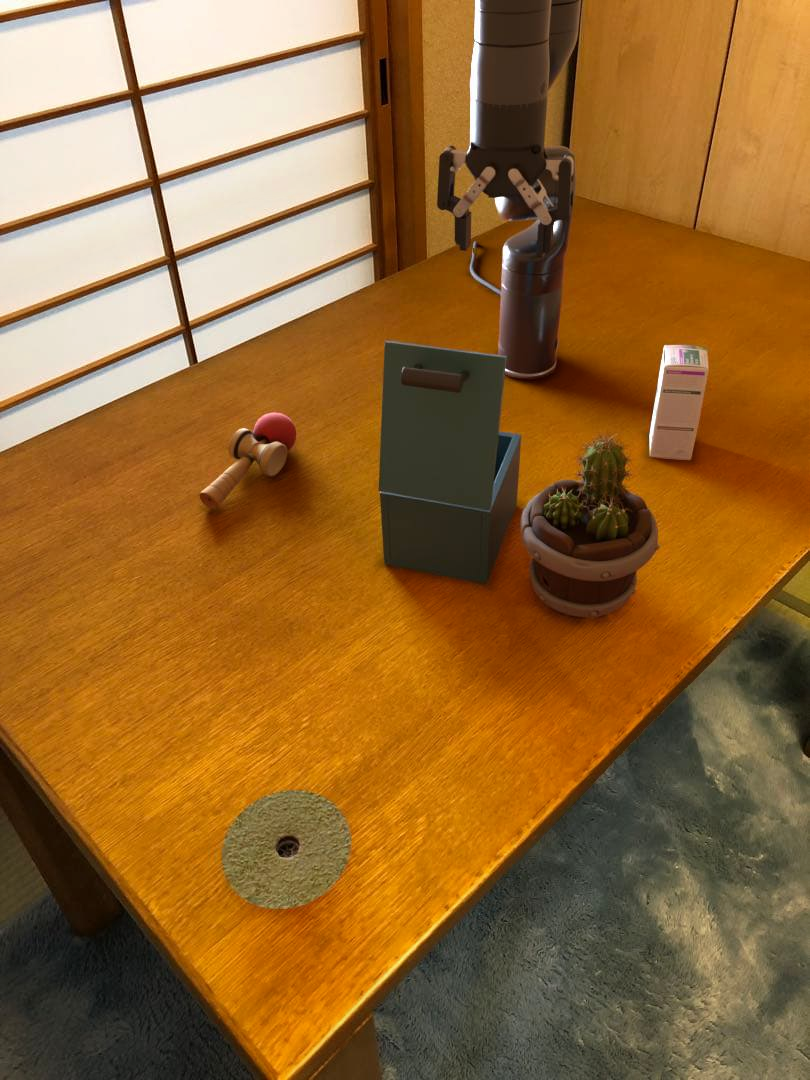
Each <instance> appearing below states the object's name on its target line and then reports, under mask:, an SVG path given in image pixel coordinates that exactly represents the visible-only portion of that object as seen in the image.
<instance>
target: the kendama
mask: <svg viewBox="0 0 810 1080" xmlns="http://www.w3.org/2000/svg"><path fill="white" fill-rule="evenodd" d="M296 440H297V428H296V425H295V423H294V422H293V420H292V419H290V417H288V416H287V415H285V414H283V413H280V412H268V413H265V414H264V415H262V416H260V417H259V418H258V420H257V421H256V422H255V424H254V427H253V431H252V430H250V429H248V428H244V427H242V428H239V429H237V430H236V431H235V432H234V433H233V435H232V436H231V438H230V440H229V443H228V446H227V447H228V449H227V450H228V451H227V452H228V454H229V456H230V457H232V458H233V459H235V460H237V461H236V462H234V463H233V464H232V465H230V466H229V467H228V468H227V469H226V470H224V472H222V474H220V475H219V476H218V477H217V478H216V479H214V480H213V482H211V483H210V484H209V485H208V486H207V487H206V488H204V489H203V490H202V491H201V492H200V493H199V499H200V501H201V502H202V504H203V505H204V506H205V507H207V508H208V509H211V510H213V511H215V510H216V511H217V510H218V509H219V507H220V506H221V505H222V504H223V502H224V501H225V500H226V499H227V498H228V496H229V495H230V494H231V492H232V491H233V490H234V488H235V487H236V486H237V485H238V484H239V483H240V481H241V480H242V479H243V478H244V476H245V475H246V473H247V472H248V471H249V469H250V468H251V466H252V465H253V463H254V462H256V463H257V464H258V467H259V469H260V472H261V473H262V474H263V475H266V476H268V477H274V476H276V475H278V473H279V472H281V470H282V469H283V467H284V465H285V463H286V460H287V457H288V452H289V451H290V450H291V449H292V448H293V447H294V446H295V444H296Z"/></svg>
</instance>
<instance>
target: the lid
mask: <svg viewBox="0 0 810 1080" xmlns="http://www.w3.org/2000/svg"><path fill="white" fill-rule="evenodd" d="M383 347H384V348H383V371H382V372H383V373H382V398H381V419H380V421H381V423H380V424H381V425H380V443H379V444H380V446H379V468H378V471H379V472H378V473H379V474H378V492H381V491H382V492H387V493H393V494H399V495H404V496H410V497H416V498H421V499H427V500H433V501H438V502H444V503H449V504H455V505H461V506H466V507H472V508H478V509H483V510H490V509H491V503H492V493H493V484H494V474H495V465H496V455H497V446H498V436H499V431H500V426H501V425H500V424H501V414H502V406H503V398H504V387H505V377H506V375H505V369H506V359H507V356H502V355H498V354H493V353H487V352H479V351H471V350H463V349H457V348H456V349H454V348H447V347H439V346H434V345H433V346H432V345H425V344H417V343H416V344H415V343H410V342H401V341H394V340H386V341H384V346H383Z"/></svg>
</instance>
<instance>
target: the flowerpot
mask: <svg viewBox="0 0 810 1080" xmlns="http://www.w3.org/2000/svg"><path fill="white" fill-rule="evenodd" d="M596 433H597V434H598V436H599V437H596V436H594V437H593V438H592V443H591V442H587V441H586V442H585V444H586V445H585V444H584V443H580V444H581V445H583V448H581V449H580V451H579V452H577V453H578V454H580V452H581V451H582V450H583V451H584V452H585V454H584V453H583V452H581V454H582V455H576V456H577V457H574V456H573V458H574V459H576V460H578V461H577V463H576V469H579V470H576V472H577V473H575V474H573V476H576V478H575V480H574V479H561V480H558V481H554V482H553V483H552V484H550V485H547V486H546V487H545V488H544V489H542V490H541V492H539V493H537V494H535V496H533V497H532V498H531V499H530V500H529V501H528V503H527V504H526V506H525V507H524V509H522V510H521V512H520V513H521V518H520V538H521V542H522V545H523V546H524V548H525V550H526V552H527V553H528V555H529V556H530V557H531V559H530V561H529V576H530V577H529V578H530V582H531V585H532V588H533V590H534V593H535V594H536V596H537V597H538V598H539V600H540V601H542V603H543V604H544V605H545V606H546V607H548V608H549V609H550V610H551V611H553V612H555V613H556V614H558V615H560V616H563V617H565V616H568V617H569V618H571V619H574V620H584V619H587V618H600V619H601V618H604V617H607V616H608V615H609V614H611V613H614V612H616V611H617V610H619V609H621V608H622V607H623V606H624V605H625V604H626V603H627V602H628V601H629V600H630V598H631V596H632V595H634V594H636V586H637V584H638V583H637V582H638V575H637V572H638V570H640V569H641V568H643V567H644V566H645V565H646V564H648V562H650V561H651V559H652V558H653V556H654V555H655V553H656V552H657V551H658V550H659V549H660V544H658V542H659V541H658V540H659V529H658V524H657V521H656V517H655V515H654V514H653V512H652V511H651V509H650V508H649V507H648V506H647V503H646V501H645V500H644V499H643V498H642V497H641V496H639V495H638V494H636V493H632V492H631V491H630V490H629V489H630V488H631V487H630V486H629V485H627V484H628V479H629V480H631V477H635V475H634V474H631V473H630V472H631V470H632V469H631V468H632V467H631V465H633V463H632V461H635V458H633V459H632V458H630V457H631V452H630V454H629V457H627V455H628V453H629V452H628V451H630V449H629V448H626V447H625V446H628V443H625V444H623V442H619V443H618V441H620V439H621V438H620V437H618V438H617V440H616V437H615V436H618V433H616V434H614V435H612V432H611V430H609V429H607V431H606V435H605V436H603V435H602V434H601V433H600V432H598V431H596ZM611 435H612V436H611ZM595 440H596V441H595ZM622 450H623V451H622ZM625 450H628V451H627V452H626V454H625ZM630 464H631V465H630ZM579 465H580V466H581V468H579ZM626 465H627V466H629V467H630V469H628V470H627V468H626ZM577 466H578V467H577ZM627 478H628V479H627ZM578 480H580V481H578ZM624 480H625V481H626V482H625V481H624ZM623 481H624V482H625V483H623Z"/></svg>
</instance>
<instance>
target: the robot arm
mask: <svg viewBox="0 0 810 1080" xmlns="http://www.w3.org/2000/svg"><path fill="white" fill-rule="evenodd" d="M581 5H582V0H474V7H475V8H474V43H473V52H472V59H471V72H470V79H469V90H470V121H469V122H470V127H469V131H470V132H469V134H470V135H469V148H468V151H467V150H461V149H460V150H459V149H457V147H455V146H454V145H448V146H447V147H446V148H445V149H444V150H443V151H442V153H441V154H440V155H439V158H438V174H437V175H438V176H437V194H436V195H437V196H436V197H437V198H436V206H437V208H438V209H439V210H441V211H447V212H449V213H451V214H452V215H453V218H454V242H455V245H456V246H459V251H461V252H462V251H463V252H467V251H468V250H469V248H470V247H471V244H472V243H471V242H472V211H471V210H470V207H472V205H473V203H474V202H475V201H476V200H477V199H478V197H479V196H480V195H481V194H482V192H483V194H484V195H486V196H487V198H488V199H494V203H495V208H496V211H497V214H498V216H499V217H500V218H501V219H502V220H503V221H508V222H515V221H516V222H517V221H527V220H528V221H529V220H535V222H533V223H532V224H531V225H530V226H528V227H527V228H525V229H524V230H521V231H520V232H517V233H516V234H514V235H512V236H510V237H509V238H508V239H507V240H506V241H505V243H504V244H503V246H502V254H501V255H502V256H501V260H502V261H501V280H500V289H499V288H497V287H496V286H494V285H493V284H491V283H490V282H488V281H486V280H485V279H483V278H482V277H481V276H480V275H478V274H477V273H476V271H475V265H476V260H477V252H476V253H475V254H474V253H473V252H472V254H471V260H470V264H469V272H470V274H471V276H472V277H473V278H474V280H476V281H477V282H478V283H480V284H482V285H483V286H485V287H486V288H488V289H490V290H491V291H493V292H494V293H496V294H498V295H499V296H500V307H499V325H498V328H499V329H498V350H497V355H502V356H507V359H506V369H505V376H508V377H511V378H513V379H517V380H538V379H542V378H545V377H548V376H550V375H551V374H553V373H554V372H555V370H556V369H557V354H558V347H559V343H560V338H559V332H560V331H559V330H560V320H561V309H562V300H563V299H562V298H563V286H564V275H565V265H566V264H565V263H566V255H567V251H568V247H569V242H570V234H571V233H570V232H571V224H572V217H573V213H574V212H573V211H574V206H575V199H576V190H577V165H576V158H575V156H574V154H573V153H572V150H570V149H569V148H568V147H566V146H564V145H552V146H545V140H546V126H547V111H548V110H547V109H548V97H549V91H550V90H551V88H553V87H552V86H553V85H554V84H555V82H556V81H557V79H558V78H559V76H560V74H561V73H562V72H563V69H564V68H565V66H566V64H567V63H568V61H569V59H570V57H571V55H572V53H573V51H574V50H575V46H576V43H577V41H578V36H579V28H580V27H579V26H580V15H581V7H582V6H581ZM463 164H465V166H466V168H467V169H468V171H469V173H470V174H471V176H472V178H473V179H474V182H473V183H472V184H471V186H470V187H469V188H468V189H467V191H465V193H464V194H463V196H462V197H461V198H460V197H458V196H456V195H455V187H456V185H455V184H456V173H458V172H459V171H460V170H461V168H462V165H463ZM473 248H474V249H476V248H477V249H478V241H476V240H475V241H474V242H473V245H472V249H473Z"/></svg>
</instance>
